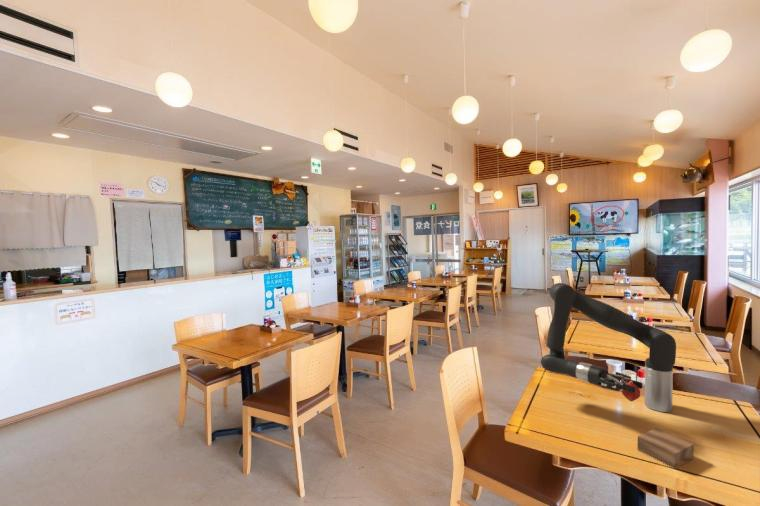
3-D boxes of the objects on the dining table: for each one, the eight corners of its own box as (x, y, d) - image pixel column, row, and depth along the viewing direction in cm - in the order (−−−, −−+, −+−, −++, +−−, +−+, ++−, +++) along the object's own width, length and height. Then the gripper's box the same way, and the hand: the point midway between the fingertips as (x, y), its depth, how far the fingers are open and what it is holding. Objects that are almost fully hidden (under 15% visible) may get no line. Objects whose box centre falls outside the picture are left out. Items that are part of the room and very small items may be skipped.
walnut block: (655, 441, 127) (656, 427, 127) (693, 458, 117) (693, 444, 117) (637, 450, 123) (637, 436, 122) (674, 468, 113) (674, 453, 112)
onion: (617, 398, 137) (618, 377, 136) (631, 396, 137) (631, 376, 137) (629, 405, 131) (629, 384, 130) (644, 404, 131) (644, 383, 131)
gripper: (582, 369, 141) (631, 383, 127) (599, 360, 149) (646, 373, 135) (582, 387, 142) (630, 403, 128) (599, 377, 150) (646, 392, 136)
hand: (638, 388), depth 131 cm, fingers closed on onion, 5 cm apart
